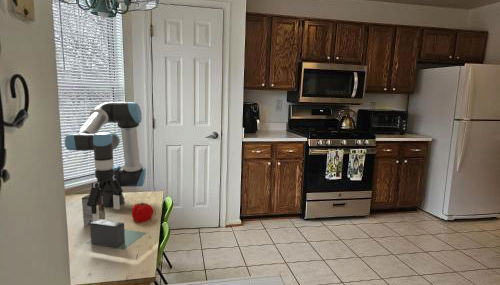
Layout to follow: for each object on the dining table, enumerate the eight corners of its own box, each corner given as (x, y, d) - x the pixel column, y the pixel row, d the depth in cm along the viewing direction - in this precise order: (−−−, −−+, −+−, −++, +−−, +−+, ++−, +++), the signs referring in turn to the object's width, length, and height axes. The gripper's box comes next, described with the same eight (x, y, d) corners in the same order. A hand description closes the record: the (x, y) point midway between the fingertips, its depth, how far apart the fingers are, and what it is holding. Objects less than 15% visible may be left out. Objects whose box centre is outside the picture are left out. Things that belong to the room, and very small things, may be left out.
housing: (99, 238, 154) (97, 218, 152) (124, 243, 150) (124, 222, 149) (91, 243, 149) (90, 222, 148) (117, 248, 146) (116, 227, 144)
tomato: (129, 226, 173) (129, 207, 171) (134, 216, 185) (133, 199, 183) (152, 225, 174) (151, 206, 173) (155, 216, 187) (154, 198, 185)
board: (112, 230, 167) (111, 218, 166) (146, 235, 162) (146, 224, 161) (85, 246, 150) (85, 233, 149) (123, 252, 145) (123, 240, 144)
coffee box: (95, 220, 179) (93, 192, 176) (105, 221, 178) (104, 193, 175) (83, 227, 170) (81, 197, 167) (94, 228, 169) (92, 198, 166)
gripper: (115, 161, 157) (117, 203, 161) (75, 174, 133) (78, 224, 137) (129, 162, 155) (131, 205, 159) (90, 176, 131) (94, 226, 135)
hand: (106, 214), depth 148 cm, fingers open, 13 cm apart
